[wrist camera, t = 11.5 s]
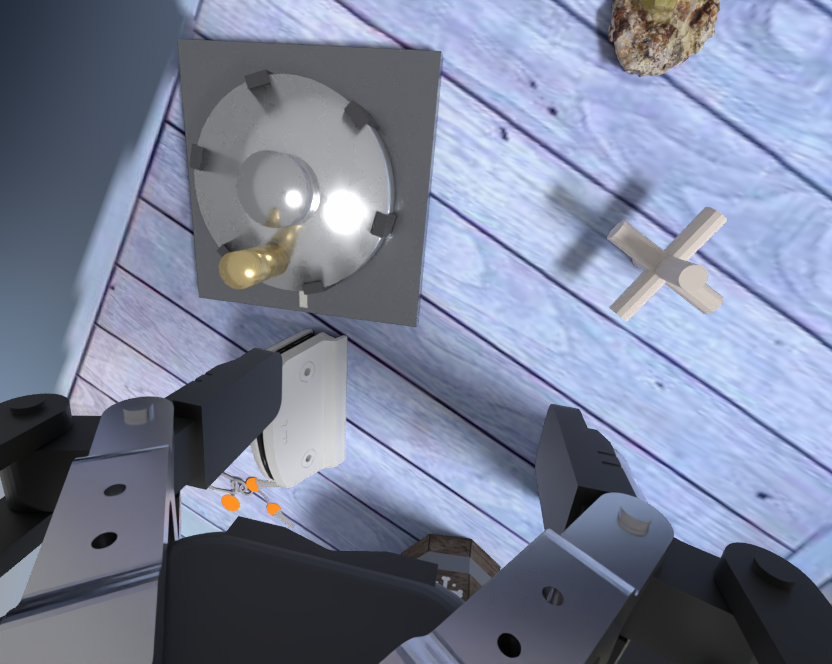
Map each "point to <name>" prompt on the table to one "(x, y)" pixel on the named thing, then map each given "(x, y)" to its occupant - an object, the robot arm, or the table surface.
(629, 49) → the mineral rock
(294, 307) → the base plate
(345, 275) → the silver disc
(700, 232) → the pipe connector
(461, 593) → the mug
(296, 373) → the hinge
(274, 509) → the key chain
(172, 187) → the table surface
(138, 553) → the robot arm
